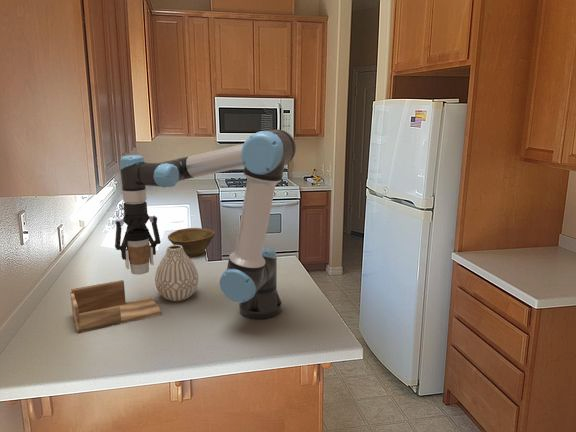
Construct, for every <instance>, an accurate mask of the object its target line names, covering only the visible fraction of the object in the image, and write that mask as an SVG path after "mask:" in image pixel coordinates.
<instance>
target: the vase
mask: <svg viewBox="0 0 576 432" xmlns="http://www.w3.org/2000/svg"><path fill="white" fill-rule="evenodd" d="M154 282H155V288H156V290H157V291H158V294H160V296H161V297H162V298H164V299H165V300H167V301H169V302H182V301H183V302H184V301H185V300H187V299H189V298H190V297H192V295H193V294H195V292H196V290H197V287H198V285H199V273H198V270H197V267H196V265H195V263H194V261H192V259H191V257H190V256H187V255H186V253H185V251H184V249H183V247H182V246H181V245H173V244H172V245H168V246H167V248H166V252H165V254H164V256H163V258H162V259H161V260H160V262H159V264H158V266H157V268H156V272H155V276H154Z"/></svg>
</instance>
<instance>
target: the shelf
mask: <svg viewBox="0 0 576 432" xmlns="http://www.w3.org/2000/svg"><path fill="white" fill-rule="evenodd" d="M125 291H126V290H125V280H123V279H120V280H115V281H109V282H104V283H97V284H93V285H88V286H82V287H76V288H71V291H69V294H70V295H69V296H70V303H71V310H72V311H71V313H72V318H73V321H74V325H75V328H76V332H77V334H81V333H87V332H90V331H95V330H98V329H99V328H100V329H103V328H104V329H105V328H108V326H109V327H113V326H116V325H117V324H118V325H121V323H122V324H126V323H129V322H134V321H140V320H143V319H149V318H153V317H157V316H162V315H163V314H162V312H163V311H162V310H161V309H160V307H159V305H158V304H157V303H156V301H155V300H154V299H153V297H150V296H149V297H146V298H141V299H135V300H132V301H126V293H125ZM112 325H113V326H112Z"/></svg>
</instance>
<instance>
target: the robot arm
mask: <svg viewBox="0 0 576 432" xmlns="http://www.w3.org/2000/svg"><path fill="white" fill-rule="evenodd" d="M296 153H297V145H296V142H295V139H294V137H293V136H292V135H291V134H290V133H289V132H287V131H286V130H282V129H271V130H261V131H257V132H255V133H253V134H252V135H250V136H248V138H247V139H245V141H244V143H241V144H236V145H232V146H228V147H223V148H219V149H215V150H214V149H213V150H211V151H207V152H203V153H198V154H193V155H190V156H185V157H179V158H176V159H172V160H168V161H167V160H166V161H162V162H145V160H144V156H142V155H137V154H131V155H123V156H122V157H120V159H119V160H120V162H119V165H120V166H119V167H120V169H119V170H120V171H119V173H120V177H121V185H122V186H121V190H122V201H123V217H122V218H121V219H115V221H114V224H115V227H116V229H115V241H114V242H115V243H114V248H115V249H116V250H117V251H120V253H121V258H122V260H123V261H124V264H125V268H126V270H131V268H130V262H129V256H128V250H127V244H128V241H127V240H126V238H125V235H124V236H123V240H122V226H123V225H124V224H126V226H127V227H126V229H125V232H126V233H127V234H131V233H132V231H133V230H134V229H137V228H138V229H143V231H144V232H145V231H146V230H148V229H149V228H148V227H147V223H148V221H149V222H150V224H151V227H152V231H153V235H154V239H153V236H152V234H151V233H150V232H149V235H150V238H149V243H150V248H149V265H150V266H154V265H155V263H154V262H155V261H154V255H155V256H156V255H157V254H156V253H157V251H156V250H157V245H160V244H161V243H162V242H161V237H160V233H159V229H158V223H157V222H158V217H157V216H155V215H149V214H148V203H147V192H146V191H147V189H146V186H148V187H149V186H150V187H151V186H152V187H161V188H173V187H175V186H176V185H177V184H178V182H181V181H185V180H188V179H189V180H190V179H194V178H198V177H203V176H207V175H212V174H218V173H222V172H227V171H232V170H236V169H242V168H244V169H243V175H244V176H245V177H246V179H247V181H246V186H245V191H244V196H243V197H244V199H243V205H242V210H241V215H240V221H239V227H238V233H237V239H236V243H235V250H234V251H233V252H231V253H230V254H229V255H228V260H227V267H226V270H225V271H223V272H222V274H221V276H220V277H219V287H220V290H221V292H222V293H223V294H224V296H225V298H227V299H228V300H230V301H232V302H235V303H239V304H238V311H239V314H240V315H241V316H243V317H245V318H248V319H254V320H263V319H270V318H274V317H276V316H278V315H280V314H281V312H282V311H283V309H282V308H283V307H282V305H283V304H282V300H281V297H280V294H279V292H278V290H277V283H278V281H277V280H278V279H277V276H278V275H277V269H278V268H277V266H278V265H277V262H278V261H277V260H278V257H277V252H276V250H275V249H274V248H272V247H267V246H265V243H266V241H265V240H266V236H267V231H268V226H269V222H270V221H269V220H270V215H271V210H272V204H273V199H274V195H275V190H276V186H277V185H278V183H280V182H282V179H283V176H284V169H285V166H287V165H289V164H290V163H291V162H292V161H293V159H294V157H295V155H296ZM147 228H148V229H147ZM121 240H122V242H121Z"/></svg>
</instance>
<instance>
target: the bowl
mask: <svg viewBox="0 0 576 432" xmlns="http://www.w3.org/2000/svg"><path fill="white" fill-rule="evenodd" d="M214 236H215V231H214V230H212V229H208V228H201V227H200V228H199V227H187V228H181V229H180V228H179V229H177V230H175V231H173V232H171V233H169V234H168V235H167V239H168V241H170V243H171V244H172V245H181V246H182V247H183V249H184V251H185V253H186V255H187V256H188V257H199V256H200V255H201V256H202V254H203V253H204V252H205V250H206V249H207V248H208V246H209V245H210V244H211V242H212V241H213V238H214Z"/></svg>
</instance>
